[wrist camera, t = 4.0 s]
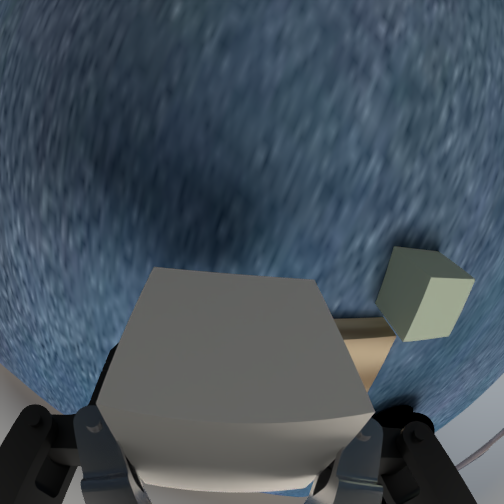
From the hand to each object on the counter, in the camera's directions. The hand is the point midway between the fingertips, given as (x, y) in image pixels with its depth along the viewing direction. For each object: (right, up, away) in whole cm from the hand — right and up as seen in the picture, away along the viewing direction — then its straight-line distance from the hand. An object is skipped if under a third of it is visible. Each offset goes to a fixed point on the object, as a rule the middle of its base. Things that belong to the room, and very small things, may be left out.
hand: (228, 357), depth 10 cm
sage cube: (+14, +2, +10) cm, 17 cm away
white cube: (0, +1, +1) cm, 1 cm away
